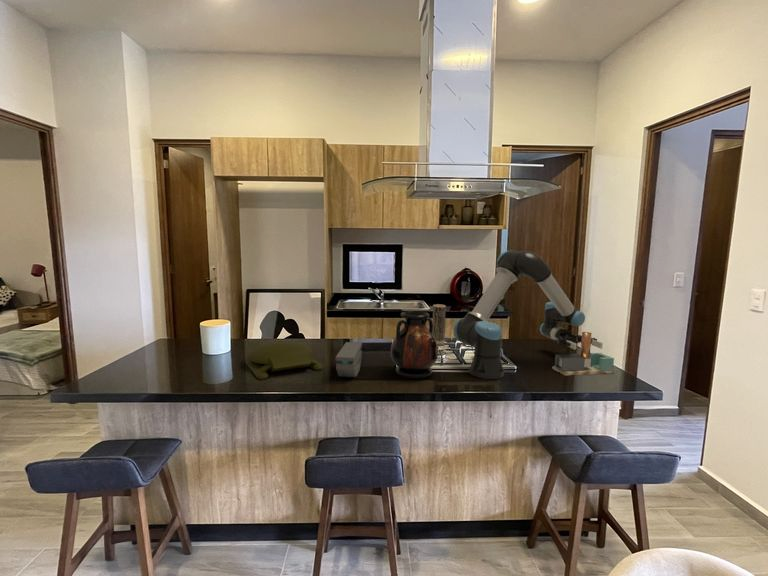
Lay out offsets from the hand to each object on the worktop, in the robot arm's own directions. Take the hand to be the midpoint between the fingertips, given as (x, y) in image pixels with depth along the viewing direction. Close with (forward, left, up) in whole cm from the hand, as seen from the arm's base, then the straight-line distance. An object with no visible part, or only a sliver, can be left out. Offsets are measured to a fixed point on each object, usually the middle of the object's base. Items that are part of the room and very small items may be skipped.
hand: (588, 346), depth 191 cm
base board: (-1, +2, -12) cm, 13 cm away
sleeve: (-8, +2, -11) cm, 14 cm away
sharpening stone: (-111, +14, -13) cm, 112 cm away
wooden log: (-59, +46, -13) cm, 75 cm away
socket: (+8, +2, -11) cm, 14 cm away
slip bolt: (-5, +2, -10) cm, 11 cm away
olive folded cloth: (-142, +30, -13) cm, 146 cm away
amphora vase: (-82, +9, -13) cm, 83 cm away
